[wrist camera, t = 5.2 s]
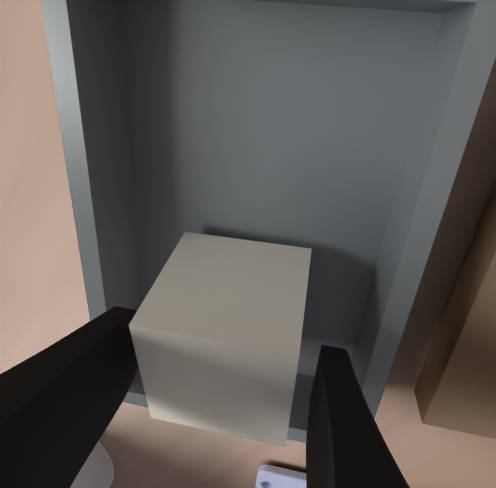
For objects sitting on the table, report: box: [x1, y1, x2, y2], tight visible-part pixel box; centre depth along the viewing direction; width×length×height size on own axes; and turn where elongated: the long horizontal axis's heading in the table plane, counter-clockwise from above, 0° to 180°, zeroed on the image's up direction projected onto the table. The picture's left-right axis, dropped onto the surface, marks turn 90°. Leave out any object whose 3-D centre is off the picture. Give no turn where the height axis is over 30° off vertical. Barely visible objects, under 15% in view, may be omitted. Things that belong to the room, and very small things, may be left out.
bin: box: [41, 0, 496, 443], centre depth 11 cm, size 13×9×3 cm
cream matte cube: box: [129, 232, 312, 446], centre depth 11 cm, size 4×4×4 cm
